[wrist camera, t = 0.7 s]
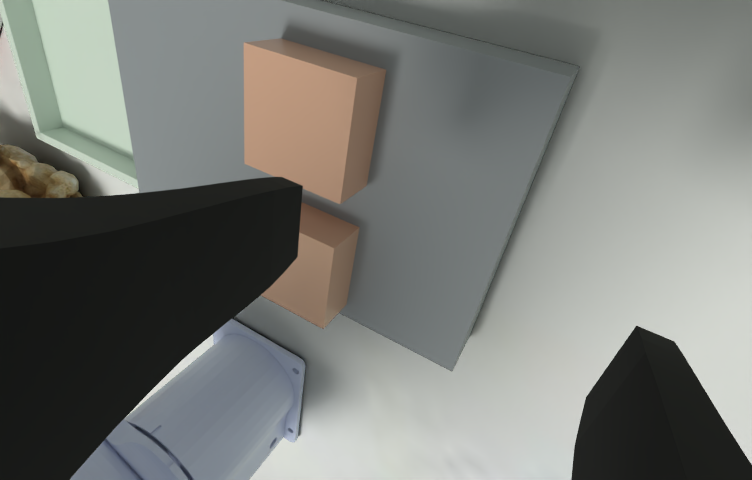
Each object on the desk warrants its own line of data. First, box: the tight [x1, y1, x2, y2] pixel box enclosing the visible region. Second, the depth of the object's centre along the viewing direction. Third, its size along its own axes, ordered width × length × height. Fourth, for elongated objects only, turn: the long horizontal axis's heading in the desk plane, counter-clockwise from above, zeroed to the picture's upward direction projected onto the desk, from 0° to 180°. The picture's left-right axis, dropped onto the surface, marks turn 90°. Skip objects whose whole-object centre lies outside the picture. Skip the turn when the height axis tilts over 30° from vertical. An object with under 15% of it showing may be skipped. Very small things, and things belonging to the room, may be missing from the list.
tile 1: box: [261, 202, 360, 329], centre depth 20 cm, size 4×4×2 cm
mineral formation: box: [0, 144, 83, 198], centre depth 33 cm, size 8×13×15 cm
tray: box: [0, 0, 139, 189], centre depth 25 cm, size 12×10×2 cm
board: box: [108, 0, 580, 371], centre depth 20 cm, size 13×20×2 cm, turn 79°
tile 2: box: [244, 38, 386, 204], centre depth 16 cm, size 4×4×2 cm
